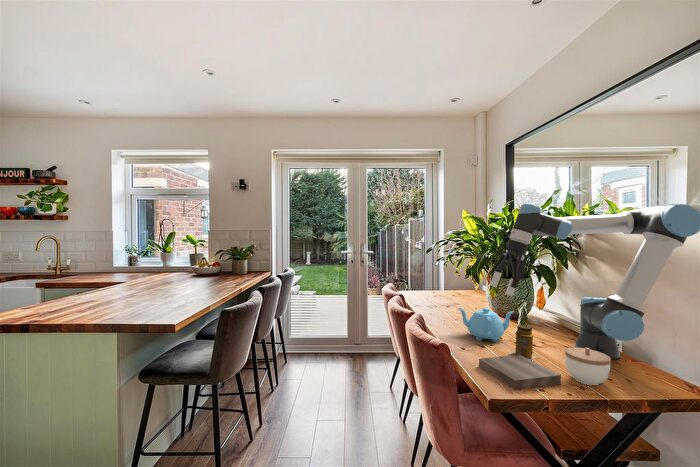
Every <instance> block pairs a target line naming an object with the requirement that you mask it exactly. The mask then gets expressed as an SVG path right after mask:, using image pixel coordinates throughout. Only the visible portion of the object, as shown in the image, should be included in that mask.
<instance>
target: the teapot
mask: <svg viewBox="0 0 700 467" xmlns="http://www.w3.org/2000/svg"><path fill="white" fill-rule="evenodd" d="M457 309H458V310H459V311H460V312H461V316H462V322H463V324H464V326H465V327H467V329H468V331H469V333H470V334H471V335H473V336H474V337H475V341H483V339H486V340H487V339H489V340H491V342H492V341H493V343H498V342H499V340H498V339H501V337H502V336H503V335H504V334H505V331H506V330H508V329H509V326H510V318H511V315H512V314H513V313H514V312H515V311H513V310H511V311H508V312H507V313H506V314H505V320H504V321H502V320H501V318H500V316H499V315H498V313H497V312H494V311H491V310H490V308H488V307H483V308H482V309H481V310H475V311H474V313H473V314H472V315H471V317H470V318H469V319H468V318H467V314H466V310H464V309H463V308H459V307H457Z"/></svg>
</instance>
